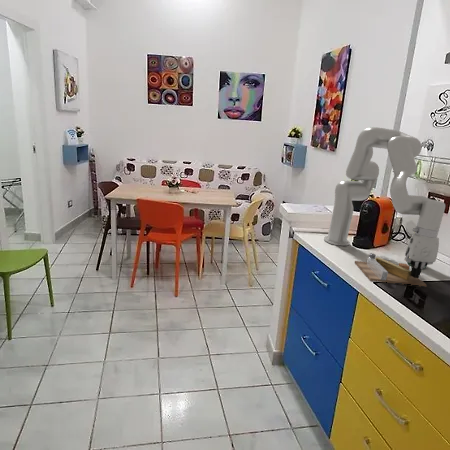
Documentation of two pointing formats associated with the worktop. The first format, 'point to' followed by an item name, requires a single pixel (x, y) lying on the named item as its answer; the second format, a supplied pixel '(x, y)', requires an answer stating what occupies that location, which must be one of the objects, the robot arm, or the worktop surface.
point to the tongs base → (376, 267)
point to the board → (390, 277)
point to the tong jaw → (394, 269)
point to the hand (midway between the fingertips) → (414, 276)
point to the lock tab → (404, 266)
